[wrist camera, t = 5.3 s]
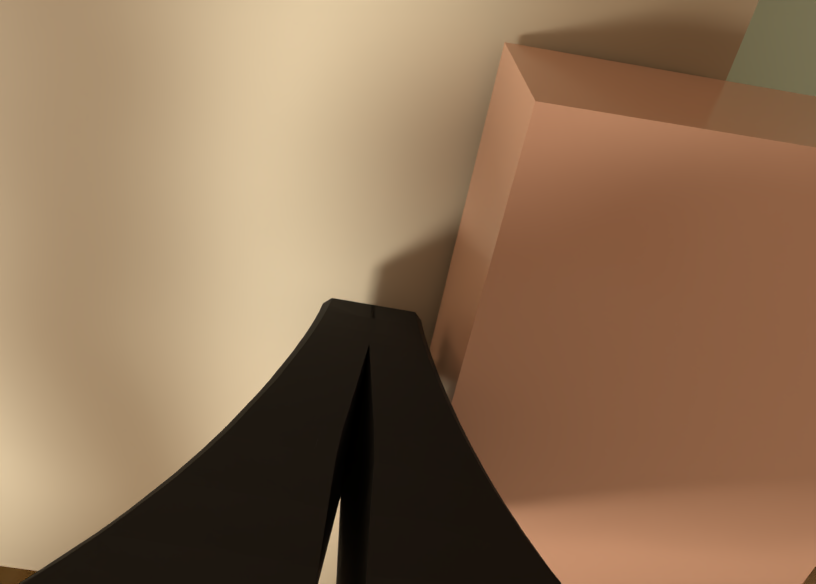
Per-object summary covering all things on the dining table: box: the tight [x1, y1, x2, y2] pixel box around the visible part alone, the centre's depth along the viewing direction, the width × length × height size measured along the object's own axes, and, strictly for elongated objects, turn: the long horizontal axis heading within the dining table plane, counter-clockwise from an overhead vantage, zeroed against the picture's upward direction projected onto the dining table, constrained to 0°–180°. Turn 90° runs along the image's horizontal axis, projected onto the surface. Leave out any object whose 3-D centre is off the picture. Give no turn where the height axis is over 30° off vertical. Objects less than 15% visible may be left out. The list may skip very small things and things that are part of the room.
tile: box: [430, 42, 816, 584], centre depth 11 cm, size 6×9×2 cm, turn 170°
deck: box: [0, 0, 759, 584], centre depth 13 cm, size 16×14×4 cm
